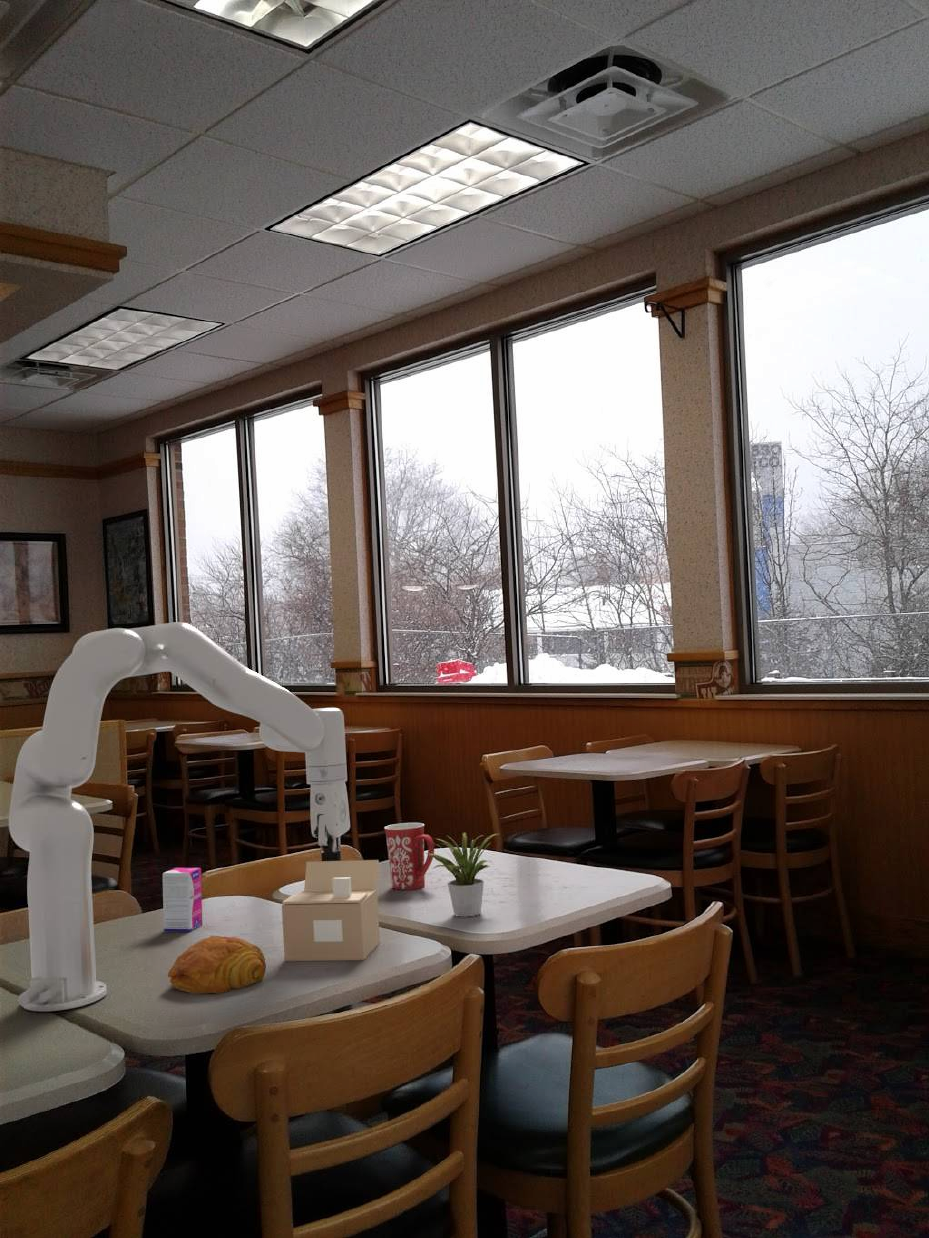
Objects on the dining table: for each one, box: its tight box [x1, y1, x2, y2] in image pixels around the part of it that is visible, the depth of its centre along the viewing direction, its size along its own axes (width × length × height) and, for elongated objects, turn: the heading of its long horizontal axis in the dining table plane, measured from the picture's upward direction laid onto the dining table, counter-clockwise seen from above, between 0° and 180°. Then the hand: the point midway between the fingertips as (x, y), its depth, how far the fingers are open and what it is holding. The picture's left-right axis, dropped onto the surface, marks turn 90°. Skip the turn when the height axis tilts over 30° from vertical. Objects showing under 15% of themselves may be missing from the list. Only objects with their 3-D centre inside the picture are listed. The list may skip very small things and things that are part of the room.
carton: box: [281, 888, 381, 962], centre depth 191 cm, size 11×14×10 cm
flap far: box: [303, 859, 380, 891], centre depth 200 cm, size 5×14×4 cm
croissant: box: [167, 935, 267, 995], centre depth 177 cm, size 14×16×8 cm
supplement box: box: [162, 867, 203, 933], centre depth 215 cm, size 6×6×12 cm
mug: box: [383, 822, 435, 891], centre depth 241 cm, size 13×9×14 cm
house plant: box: [424, 831, 501, 917], centre depth 215 cm, size 14×14×16 cm
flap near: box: [281, 877, 367, 905], centre depth 188 cm, size 5×14×4 cm, turn 80°
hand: (332, 872), depth 203 cm, fingers closed
